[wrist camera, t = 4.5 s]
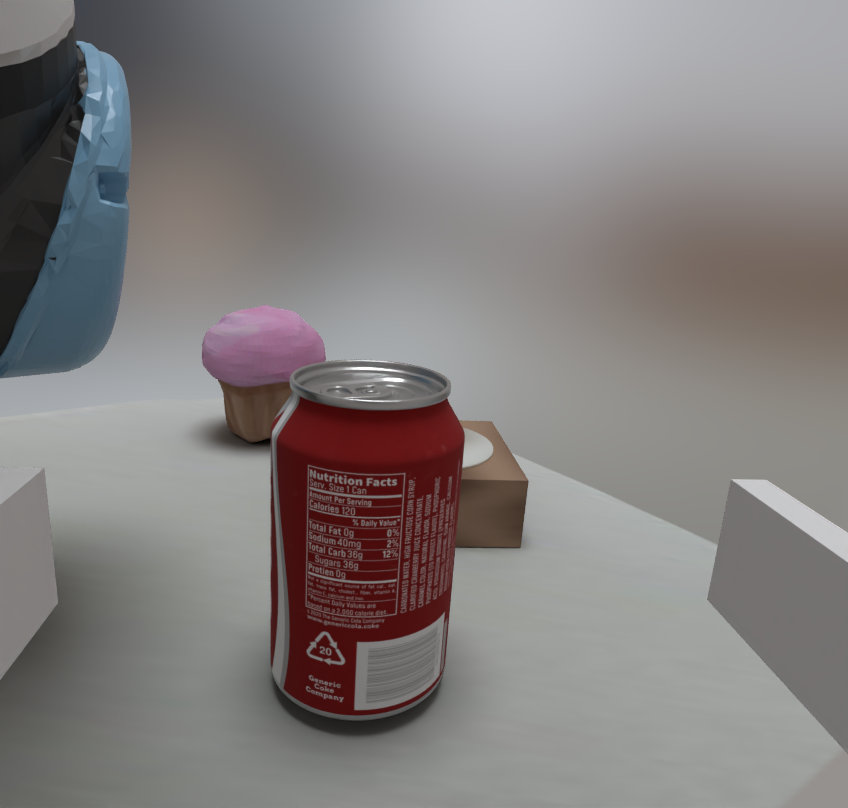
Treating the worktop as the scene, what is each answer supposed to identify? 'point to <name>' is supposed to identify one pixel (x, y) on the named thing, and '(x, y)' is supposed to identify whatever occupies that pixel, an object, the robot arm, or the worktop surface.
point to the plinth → (489, 490)
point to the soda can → (363, 536)
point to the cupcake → (258, 364)
